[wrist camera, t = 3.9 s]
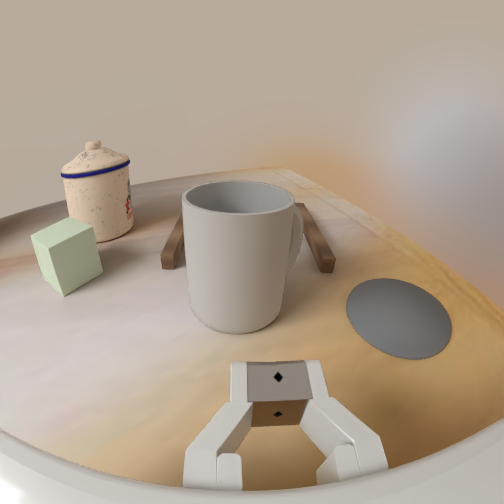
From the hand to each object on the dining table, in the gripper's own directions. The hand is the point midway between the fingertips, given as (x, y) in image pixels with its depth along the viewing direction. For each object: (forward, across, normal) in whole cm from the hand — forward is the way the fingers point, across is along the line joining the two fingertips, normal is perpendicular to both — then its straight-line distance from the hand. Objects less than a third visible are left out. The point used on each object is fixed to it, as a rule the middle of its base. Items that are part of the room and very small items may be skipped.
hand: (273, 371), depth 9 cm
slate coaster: (+10, -12, +7) cm, 17 cm away
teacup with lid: (+26, +20, +6) cm, 34 cm away
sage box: (+14, +18, +6) cm, 24 cm away
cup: (+12, 0, +6) cm, 14 cm away
